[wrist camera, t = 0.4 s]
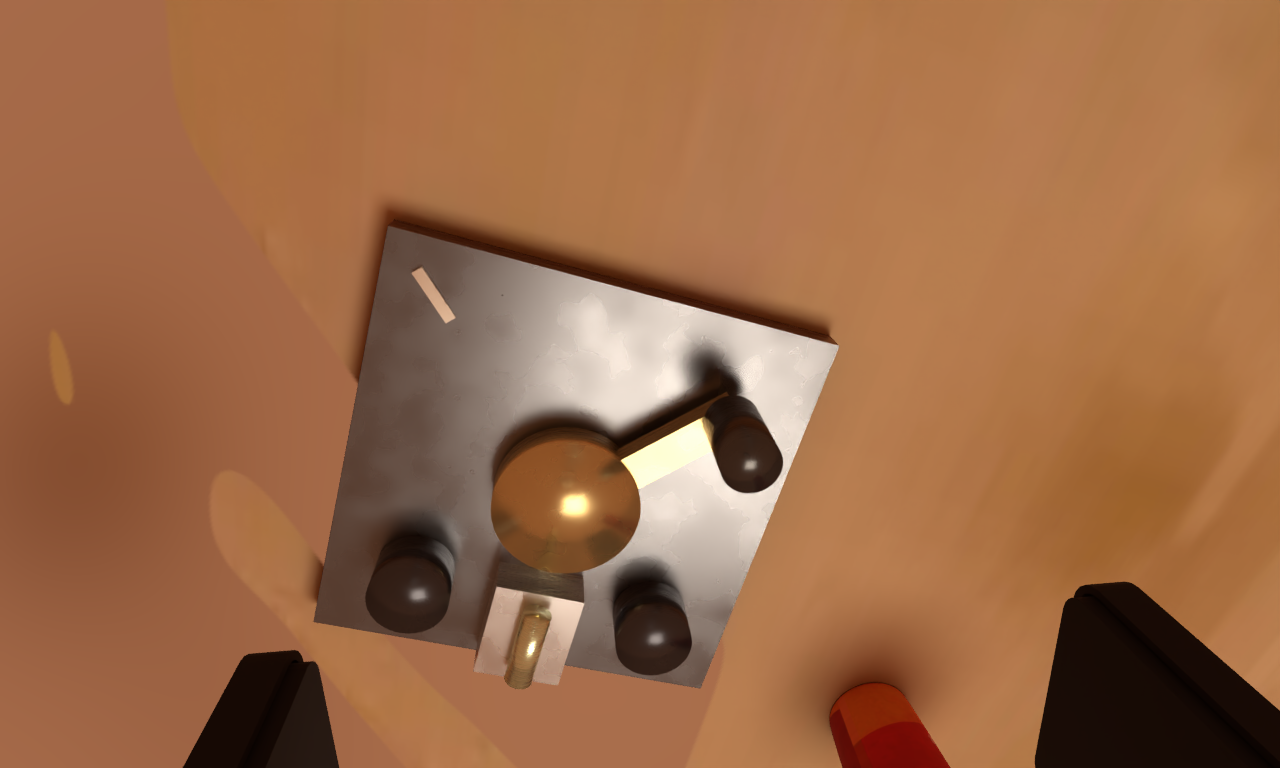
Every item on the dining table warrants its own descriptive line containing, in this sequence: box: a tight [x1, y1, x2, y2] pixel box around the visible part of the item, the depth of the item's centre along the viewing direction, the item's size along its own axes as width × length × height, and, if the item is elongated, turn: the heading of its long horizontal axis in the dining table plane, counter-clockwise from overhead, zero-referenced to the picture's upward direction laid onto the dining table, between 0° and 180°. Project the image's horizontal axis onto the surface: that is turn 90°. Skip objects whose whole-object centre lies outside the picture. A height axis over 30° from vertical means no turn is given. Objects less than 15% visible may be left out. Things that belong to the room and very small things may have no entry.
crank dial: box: [491, 392, 783, 573], centre depth 42 cm, size 16×8×7 cm, turn 119°
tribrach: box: [314, 219, 839, 689], centre depth 44 cm, size 24×24×6 cm
